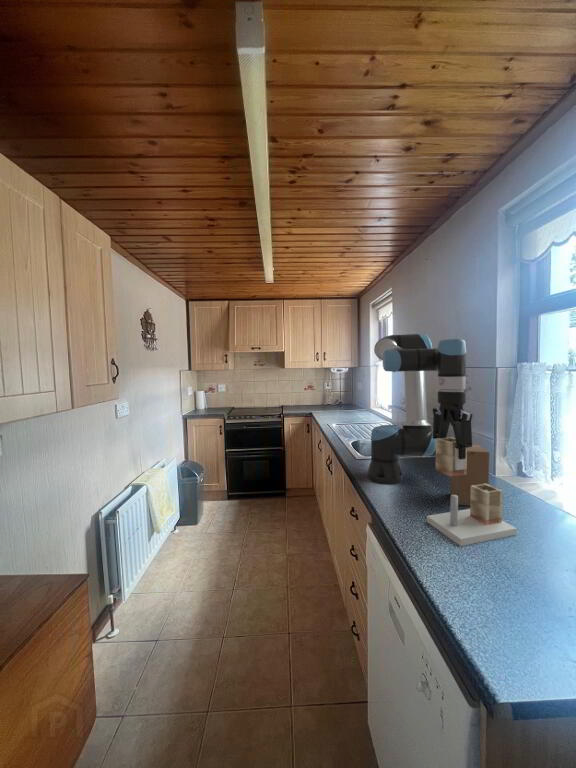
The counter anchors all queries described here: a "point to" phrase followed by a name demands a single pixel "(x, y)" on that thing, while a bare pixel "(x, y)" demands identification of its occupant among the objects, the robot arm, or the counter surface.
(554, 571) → the counter surface
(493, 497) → the sleeve seated
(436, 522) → the pin board
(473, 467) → the wooden block
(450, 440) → the sleeve
